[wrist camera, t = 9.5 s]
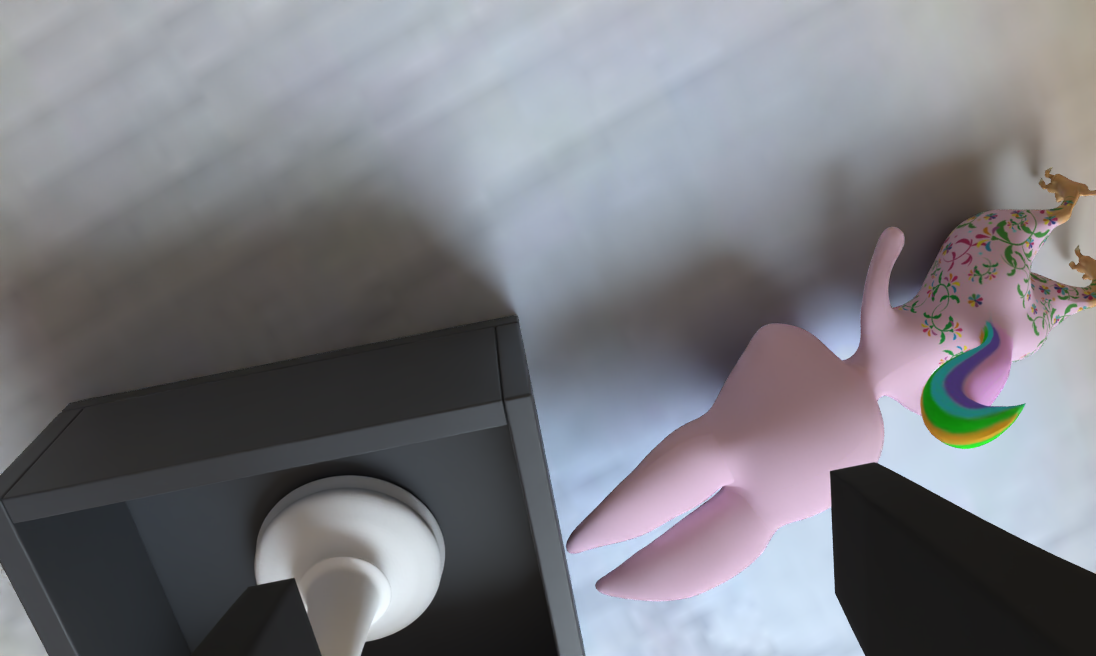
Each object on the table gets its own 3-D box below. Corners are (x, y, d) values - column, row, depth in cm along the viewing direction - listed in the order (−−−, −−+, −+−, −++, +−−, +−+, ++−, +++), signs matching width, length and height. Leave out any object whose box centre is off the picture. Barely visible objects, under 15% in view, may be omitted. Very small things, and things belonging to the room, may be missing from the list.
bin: (214, 733, 25) (165, 883, 21) (69, 402, 20) (-31, 506, 16) (585, 656, 25) (610, 787, 21) (517, 314, 21) (531, 393, 17)
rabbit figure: (980, 111, 21) (500, 449, 21) (1206, 122, 16) (560, 583, 15) (1054, 302, 24) (622, 612, 23) (1274, 370, 18) (713, 780, 18)
